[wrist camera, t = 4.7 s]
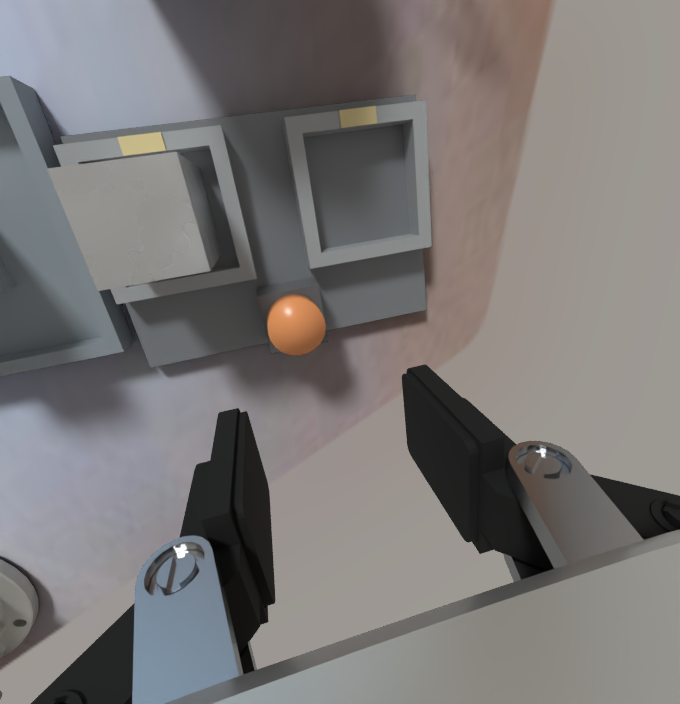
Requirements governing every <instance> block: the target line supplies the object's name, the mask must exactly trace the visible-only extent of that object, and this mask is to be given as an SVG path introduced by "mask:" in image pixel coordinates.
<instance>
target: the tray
mask: <svg viewBox="0 0 680 704" xmlns="http://www.w3.org/2000/svg"><path fill="white" fill-rule="evenodd" d="M53 145H56V143H55V141H54V138H53V136H52V133H51V131H50V128H49V126H48V123H47V121H46V118H45V116H44V113H43V110H42V108H41V105H40V103H39V100H38V98H37V95H36V93H35V90H34V89H33V88H31V87H29V86H28V85H26V84H24V83H22V82H20V81H18V80H16V79H14V78H12V77H11V76H3V77H0V255H1V257H2V259H3V261H4V263H5V265H6V267H7V269H8V271H9V273H10V275H11V277H12V279H13V281H14V283H15V285H16V287H14V288H11V289H8V290H5V291H2V292H0V377H2V376H6V375H11V374H16V373H21V372H26V371H31V370H36V369H41V368H46V367H51V366H56V365H61V364H66V363H71V362H76V361H81V360H86V359H91V358H95V357H100V356H105V355H110V354H115V353H120V352H124V351H125V350H126V349H127V348H128V347H129V345H130V344H131V343H132V342H133V341H134V339H133V337H132V334H131V332H130V329H129V327H128V324H127V322H126V319H125V317H124V314H123V312H122V309H121V307H120V304H116V302H115V299H114V297H113V294H112V292H111V289H107V290H101V291H98V290H97V288H96V286H95V283H94V281H93V278H92V276H91V274H90V271H89V269H88V266H87V264H86V262H85V259H84V257H83V254H82V252H81V250H80V247H79V245H78V242H77V240H76V238H75V235H74V233H73V230H72V228H71V226H70V223H69V221H68V218H67V216H66V214H65V211H64V209H63V206H62V204H61V202H60V199H59V197H58V194H57V192H56V190H55V187H54V185H53V182H52V180H51V178H50V175H49V173H48V170H47V168H55V167H61V165H60V162H59V160H58V157H57V155H56V152H55V150H54V147H53Z"/></svg>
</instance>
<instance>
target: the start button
mask: <svg viewBox="0 0 680 704" xmlns="http://www.w3.org/2000/svg"><path fill="white" fill-rule="evenodd" d="M267 328H268V335H269V338H270V340H271V342H272V343H273V345H274V346H275V347H276V348H277V349H278V350H280V351H281V352H283V353H286V354H289V355H303V354H306V353H309V352H311V351H313V350H314V349H315V348H316V347H317V346H318V345H319V344H320V343H321V341H322V340H323V337H324V335H325V330H326V325H325V319H324V317H323V315H322V313H321V311H320V310H319V308H318V307H317V305H316V304H315V303H314V302H313V301H312V300H311V299H310V298H308V297H307V296H304V295H301V294H288V295H284V296H282V297H280V298H279V299H277V300H276V301H275V302H274V303H273V304H272V305H271V307H270V309H269V311H268V314H267Z"/></svg>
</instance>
